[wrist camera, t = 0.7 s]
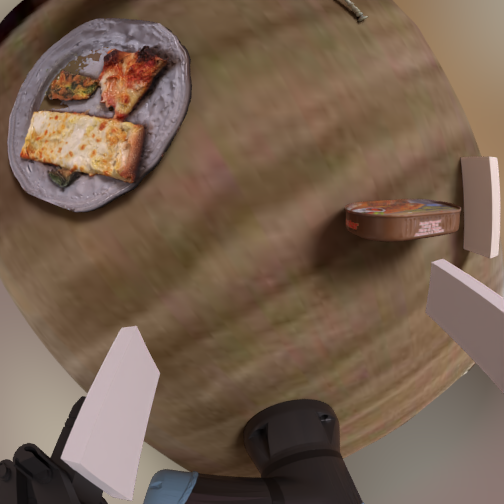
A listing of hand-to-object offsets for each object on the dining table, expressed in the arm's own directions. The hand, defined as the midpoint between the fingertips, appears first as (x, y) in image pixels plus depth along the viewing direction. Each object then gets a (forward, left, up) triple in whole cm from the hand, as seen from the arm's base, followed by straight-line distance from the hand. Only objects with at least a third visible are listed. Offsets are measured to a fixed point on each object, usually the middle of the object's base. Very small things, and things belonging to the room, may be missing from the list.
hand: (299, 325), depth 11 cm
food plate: (+19, +16, -19) cm, 31 cm away
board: (+1, -33, -19) cm, 38 cm away
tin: (+1, -17, -19) cm, 25 cm away
